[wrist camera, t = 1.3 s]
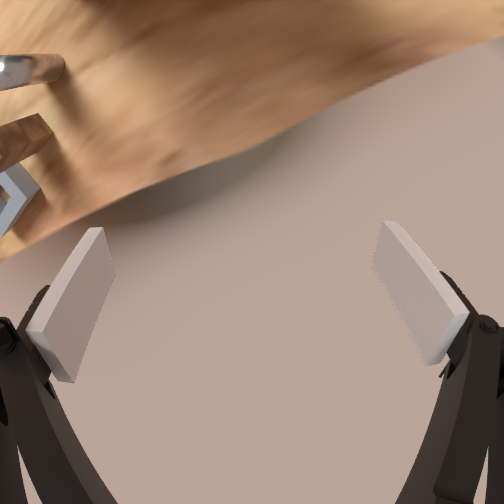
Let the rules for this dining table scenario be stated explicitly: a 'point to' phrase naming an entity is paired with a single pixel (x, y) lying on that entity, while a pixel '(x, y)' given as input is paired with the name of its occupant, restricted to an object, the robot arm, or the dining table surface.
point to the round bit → (29, 69)
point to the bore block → (15, 195)
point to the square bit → (22, 139)
